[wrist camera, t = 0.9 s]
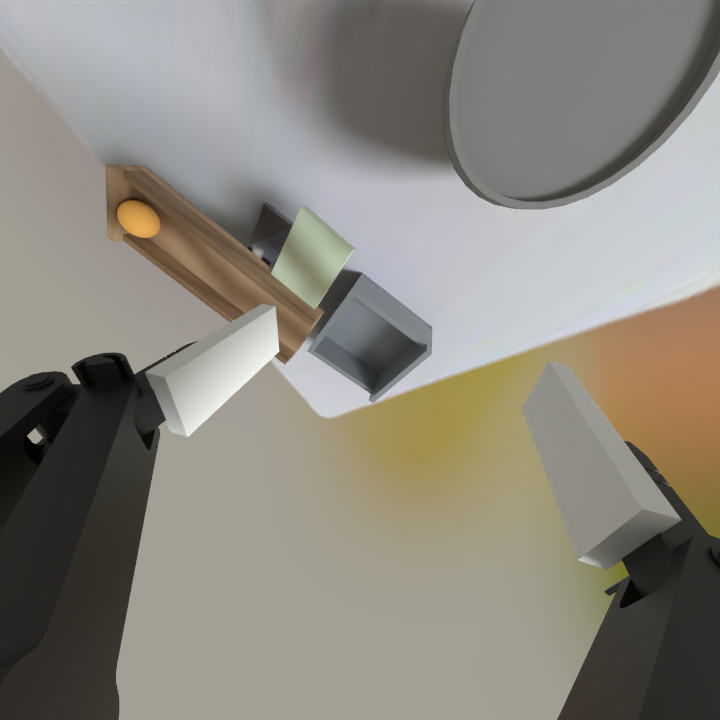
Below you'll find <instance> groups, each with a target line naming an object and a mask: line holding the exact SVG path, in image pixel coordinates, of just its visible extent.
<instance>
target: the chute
mask: <svg viewBox="0 0 720 720" xmlns="http://www.w3.org/2000/svg"><path fill="white" fill-rule="evenodd" d="M106 196H107V235H108V238H110V239H111V240H113V241H121V240H123V241H125V242H126V243H127V244H128V245H130V246H131V247H132V248H134V249H135V250H136V251H137V252H139V253H140V254H141V255H143V256H144V257H145V258H147V259H148V260H149V261H151V262H152V263H153V264H154V265H156V266H157V267H158V268H160V269H161V270H162V271H164V272H165V273H166V274H168V275H169V276H170V277H171V278H173V279H174V280H176V281H177V282H178V283H179V284H181V285H182V286H183V287H185V288H186V289H187V290H188V291H190V292H191V293H192V294H194V295H195V296H196V297H198V298H199V299H200V300H201V301H203V302H204V303H206V304H207V305H208V306H209V307H211V308H212V309H213V310H214V311H216V312H217V313H218V314H220V315H221V316H222V317H224V318H225V319H226V320H228V321H229V322H232V321H233V320H235V319H237V318H239V317H240V316H242V315H244V314H245V313H247V312H249V311H251V310H252V309H254V308H256V307H257V306H259V305H261V304H267V305H272V306H276V318H277V329H278V341H279V352H278V353H277V354H276V355H275V357H276V358H277V359H278V360H280V361H281V362H282V363H284V364H286V363H287V362H288V361H289V360H290V359H291V358H292V357H293V356H294V355H295V354H296V353H297V351H298V350H299V348H300V347H301V345H302V344H303V342H304V341H305V339H306V338H307V337H308V335H309V334H310V332H311V331H312V329H313V328H314V326H315V325H316V323H317V322H318V320H319V319H320V318H321V316H322V315H323V313H324V312H325V311H324V310H322V309H321V308H320V307H319V306H318V305H319V303H320V302H321V300H322V299H323V297H324V296H325V294H326V293H327V291H328V289H329V288H330V286H331V285H332V283H333V282H334V280H335V279H336V277H337V276H338V274H339V272H340V271H341V269H342V268H343V266H344V265H345V263H346V262H347V260H348V259H349V257H350V256H351V254H352V252H353V251H354V249H355V248H354V247H353V246H352V245H351V244H350V243H348V242H347V241H346V240H345V239H344V238H343V237H341V236H340V235H339V234H338V233H337V232H336V231H334V230H333V229H332V228H331V227H330V226H329V225H327V224H326V223H325V222H324V221H323V220H322V219H320V218H319V217H318V216H317V215H316V214H315V213H314V212H312V211H311V210H310V209H309V208H308V207H307V206H304V207H301V208H300V210H299V213H298V215H297V217H296V219H295V222H294V224H293V226H292V228H291V230H290V233H289V235H288V237H287V239H286V242H285V244H284V246H283V248H282V250H281V253H280V255H279V257H278V259H277V262H276V264H275V266H274V268H273V269H272V268H271V267H269V266H268V265H267V264H266V263H265V262H263V261H262V260H261V259H262V256H263V254H264V251H265V250H264V249H263V248H262V247H261V246H259V245H254V247H253V249H252V252H251V251H250V250H249V249H247V248H246V247H245V246H244V245H242V244H241V243H240V242H239V241H237V240H236V239H235V238H234V237H233V236H231V235H230V234H229V233H228V232H226V231H225V230H224V229H223V228H221V227H220V226H219V225H218V224H217V223H215V222H214V221H213V220H212V219H210V218H209V217H208V216H207V215H205V214H204V213H203V212H202V211H200V210H199V209H198V208H197V207H196V206H194V205H193V204H192V203H191V202H189V201H188V200H187V199H186V198H184V197H183V196H182V195H181V194H180V193H178V192H177V191H176V190H175V189H173V188H172V187H171V186H170V185H168V184H167V183H166V182H165V181H164V180H162V179H161V178H160V177H159V176H157V175H156V174H155V173H154V172H152V171H151V170H150V169H149V168H147V167H146V166H132V165H114V164H106ZM128 200H137V201H141V202H143V203H145V204H147V205H149V206H150V207H151V208H153V209H154V211H155V212H156V213H157V214H158V216H159V219H160V222H161V227H160V230H159V232H158V233H157V234H156V235H155V236H153V237H149V238H141V237H137V236H135V235H132V234H131V233H129V232H128V231H126V230H125V229H124V228H123V226H122V225H121V224H120V222H119V220H118V216H117V211H118V208H119V206H120V205H121V204H122V203H123V202H125V201H128Z"/></svg>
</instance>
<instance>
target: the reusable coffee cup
mask: <svg viewBox="0 0 720 720" xmlns="http://www.w3.org/2000/svg"><path fill="white" fill-rule="evenodd" d="M719 71H720V0H475V1H474V3H473V5H472V7H471V9H470V11H469V13H468V15H467V17H466V20H465V22H464V25H463V27H462V30H461V32H460V35H459V37H458V40H457V42H456V45H455V47H454V51H453V55H452V58H451V62H450V66H449V70H448V73H447V77H446V85H445V93H444V101H443V127H444V135H445V140H446V145H447V150H448V154H449V156H450V159H451V161H452V164H453V166H454V168H455V171H456V172H457V174H458V175H459V176H460V178H461V179H462V181H463V182H464V184H465V185H466V186H467V187H468V188H469V189H470V190H472V191H473V192H474V193H475V194H476V195H477V196H478V197H480V198H482V199H484V200H486V201H488V202H490V203H492V204H495V205H499V206H503V207H508V208H514V209H547V208H553V207H558V206H564V205H567V204H570V203H572V202H575V201H578V200H581V199H584V198H587V197H589V196H591V195H593V194H595V193H596V192H598V191H600V190H602V189H604V188H606V187H608V186H610V185H612V184H613V183H615V182H616V181H618V180H619V179H620V178H622V177H623V176H625V175H626V174H628V173H629V172H630V171H632V170H633V169H635V168H636V167H638V166H639V165H640V164H641V163H642V162H643V161H645V160H646V159H647V158H648V157H649V156H650V155H651V154H652V153H653V152H655V151H656V150H657V149H658V148H659V147H660V146H661V145H662V144H664V143H665V142H666V141H667V139H668V138H669V137H670V136H671V135H672V134H673V133H674V132H675V130H676V129H677V128H678V127H679V126H680V125H681V124H682V123H683V122H684V120H685V119H686V118H687V117H688V116H689V115H690V114H691V112H692V111H693V110H694V108H695V107H696V105H697V104H698V103H699V101H700V100H701V98H702V97H703V96H704V94H705V93H706V91H707V90H708V89H709V87H710V86H711V84H712V83H713V81H714V80H715V78H716V77H717V75H718V73H719Z"/></svg>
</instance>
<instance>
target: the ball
mask: <svg viewBox="0 0 720 720" xmlns="http://www.w3.org/2000/svg"><path fill="white" fill-rule="evenodd" d="M117 216H118V220H119V222H120V224H121V225H122V226H123V228H124V229H125V230H126V231H128V232H129V233H131V234H132V235H135V236H137V237H141V238H149V237H153V236H155V235H156V234H157V233H158V232H159V230H160V227H161V222H160V219H159V216H158V214H157V213H156V212H155V211H154V209H153V208H151V207H150V206H149V205H147V204H145V203H143V202H141V201H137V200H128V201H125V202H123V203H122V204H121V205H120V206H119V208H118V211H117Z"/></svg>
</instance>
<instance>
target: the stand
mask: <svg viewBox="0 0 720 720" xmlns="http://www.w3.org/2000/svg"><path fill="white" fill-rule="evenodd" d="M292 226H293V223H292V222H291V221H290V220H288V219H287V218H286V217H284V216H283V215H282V214H281V213H279V212H278V211H277V210H275V209H274V208H273V207H271V206H270V205H269V204H268V203H267V204H264V207H263V210H262V213H261V215H260V218H259V221H258V224H257V226H256V229H255V232H254V235H253V238H252V240H251V243H250V246H249V247H248V249H249V250H250V251H251V252H252V249H253V247H254V245H259V246H261V247H262V248H263V249H264V250H265V251H264V254H263V256H262V259H261V260H262V261H263V262H265V263H266V264H267V265H268V266H269V267H271V268H272V269H273V268H274V266H275V264H276V262H277V259H278V257H279V255H280V253H281V250H282V248H283V246H284V244H285V242H286V239H287V237H288V235H289V233H290V230H291V228H292Z"/></svg>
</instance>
